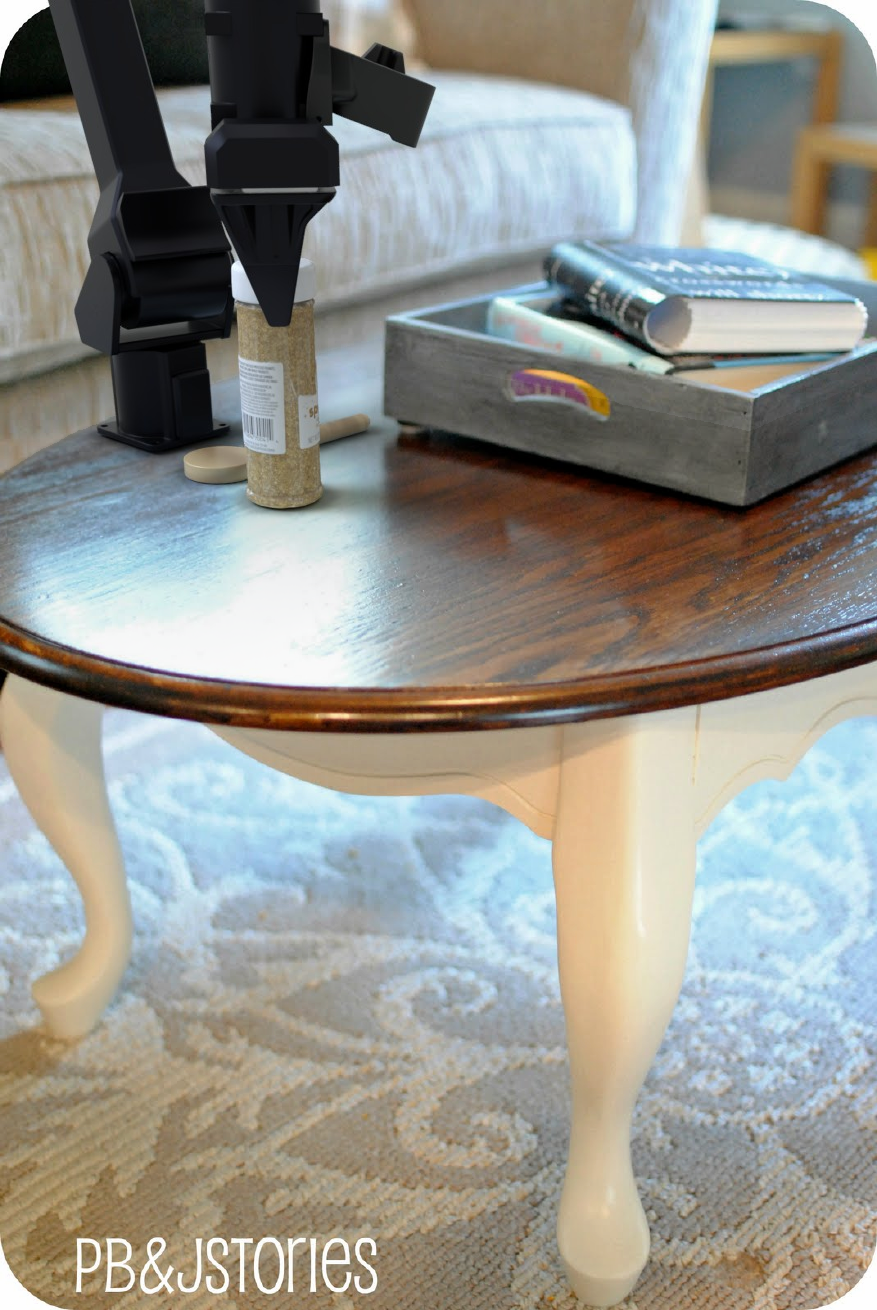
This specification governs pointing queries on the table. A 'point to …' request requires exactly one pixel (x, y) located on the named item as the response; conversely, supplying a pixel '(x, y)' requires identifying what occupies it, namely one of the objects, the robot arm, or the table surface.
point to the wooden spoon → (231, 461)
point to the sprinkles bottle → (279, 395)
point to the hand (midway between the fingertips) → (277, 308)
